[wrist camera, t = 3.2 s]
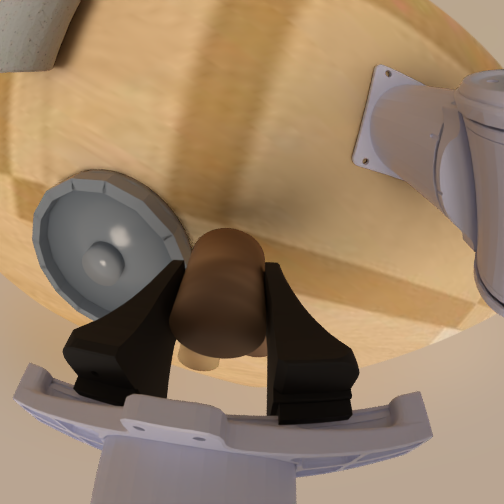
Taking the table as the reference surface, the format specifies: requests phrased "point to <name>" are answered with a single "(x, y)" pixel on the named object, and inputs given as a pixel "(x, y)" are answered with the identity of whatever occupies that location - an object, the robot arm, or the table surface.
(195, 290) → the bead
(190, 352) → the bead
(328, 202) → the table surface
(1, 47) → the ceramic mug
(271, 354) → the robot arm
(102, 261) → the tray
